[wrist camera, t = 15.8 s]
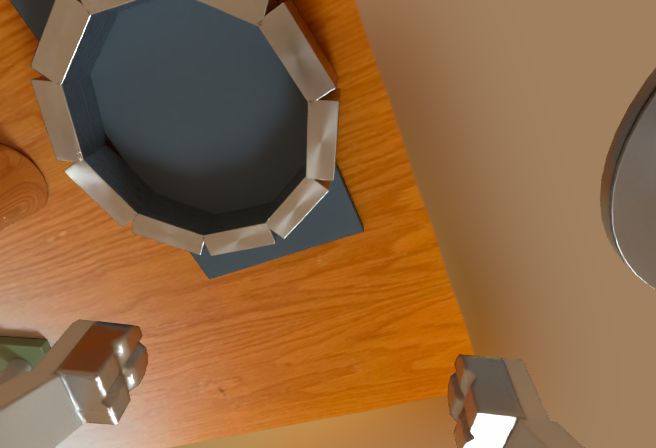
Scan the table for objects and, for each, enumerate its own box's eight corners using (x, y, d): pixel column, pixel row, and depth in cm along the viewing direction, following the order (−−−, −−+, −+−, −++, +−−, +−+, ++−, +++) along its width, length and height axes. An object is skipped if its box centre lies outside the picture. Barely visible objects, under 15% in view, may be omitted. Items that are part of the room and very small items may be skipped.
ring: (350, -39, 21) (349, -42, 19) (330, 241, 31) (328, 265, 29) (25, -60, 22) (-18, -65, 19) (106, 224, 32) (84, 246, 29)
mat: (-3, -28, 23) (-11, -28, 23) (200, -155, 20) (196, -158, 19) (211, 275, 34) (209, 279, 34) (363, 227, 31) (364, 231, 31)
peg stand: (47, 339, 40) (6, 387, 35) (65, 377, 43) (30, 426, 39) (-12, 335, 40) (-60, 382, 36) (11, 373, 43) (-31, 421, 39)
